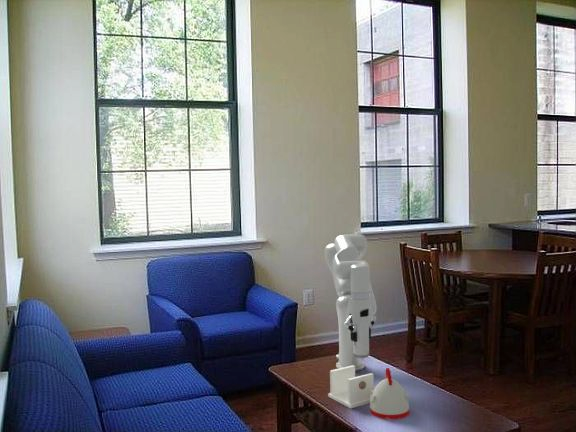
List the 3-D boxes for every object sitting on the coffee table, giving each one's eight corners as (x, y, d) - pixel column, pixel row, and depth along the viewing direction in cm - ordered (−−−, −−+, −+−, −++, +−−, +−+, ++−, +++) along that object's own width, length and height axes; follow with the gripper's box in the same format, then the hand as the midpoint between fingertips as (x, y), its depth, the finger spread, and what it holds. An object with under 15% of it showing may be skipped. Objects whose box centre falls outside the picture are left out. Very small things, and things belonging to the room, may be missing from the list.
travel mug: (368, 352, 232) (368, 304, 230) (369, 358, 225) (369, 308, 223) (353, 352, 232) (352, 304, 230) (353, 358, 226) (353, 308, 224)
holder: (328, 396, 217) (327, 370, 217) (353, 389, 223) (352, 364, 223) (350, 408, 205) (350, 380, 205) (376, 401, 211) (376, 374, 211)
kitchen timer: (405, 403, 209) (404, 363, 208) (413, 418, 195) (412, 375, 194) (367, 404, 209) (366, 364, 208) (372, 420, 195) (371, 377, 194)
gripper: (371, 290, 234) (371, 333, 236) (337, 296, 225) (337, 341, 227) (383, 294, 227) (383, 337, 229) (348, 300, 219) (349, 346, 220)
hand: (360, 339), depth 228 cm, fingers closed on travel mug, 6 cm apart
